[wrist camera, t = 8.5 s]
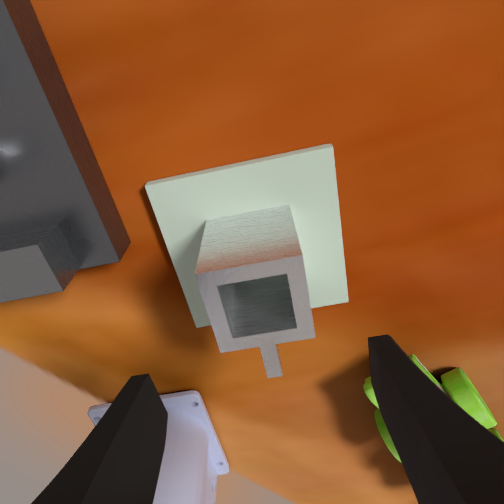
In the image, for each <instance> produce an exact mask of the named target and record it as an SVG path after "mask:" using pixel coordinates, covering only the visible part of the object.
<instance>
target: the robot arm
mask: <svg viewBox="0 0 504 504" xmlns="http://www.w3.org/2000/svg"><path fill="white" fill-rule="evenodd" d="M368 347H369V360H370V374H371V384H372V387H373V390H374V393H375V397H376V400H377V403H378V406H379V409H380V413H381V415H382V418H383V420H384V422H385V425H386V427H387V430H388V432H389V434H390V437H391V439H392V441H393V444H394V446H395V448H396V450H397V453H398V455H399V457H400V460H401V462H402V464H403V467H404V469H405V471H406V474H407V476H408V478H409V481H410V483H411V485H412V488H413V490H414V493H415V495H416V498H417V501H418V503H419V504H504V442H503V441H502V440H501V439H499V438H498V437H497V436H495V435H494V434H493V433H492V432H490V431H489V430H488V429H486V428H485V427H484V426H483V425H481V424H480V423H479V422H478V421H476V420H475V419H474V418H473V417H472V416H470V415H469V414H468V413H467V412H466V411H465V410H463V409H462V408H461V407H460V406H459V405H458V404H457V403H455V402H454V401H453V400H452V399H451V398H450V397H449V396H448V395H446V394H445V393H444V392H443V391H442V390H441V389H440V388H439V387H438V386H437V385H436V384H435V383H434V382H433V381H432V380H431V379H430V378H429V377H428V376H427V375H426V374H425V373H424V372H423V371H422V370H421V369H420V368H419V367H418V366H417V365H416V364H415V363H414V362H413V361H412V360H411V359H410V358H409V357H408V356H407V355H406V353H405V352H404V351H403V350H402V349H401V348H400V347H399V346H398V344H397V343H396V342H395V341H394V340H393V338H392V337H391V336H389V335H381V336H375V337H369V338H368ZM88 416H89V417H90V419H91V420H92V422H93V423H94V425H95V428H94V429H93V430H92V432H91V433H90V434H89V436H88V437H87V438H86V440H85V441H84V442H83V443H82V445H81V446H80V447H79V448H78V450H77V451H76V452H75V453H74V455H73V456H72V457H71V458H70V460H69V461H68V462H67V464H66V465H65V466H64V467H63V469H62V470H61V471H60V472H59V473H58V474H57V475H56V477H55V478H54V479H53V480H52V482H50V484H49V485H48V486H47V487H46V488H45V489H44V490H43V491H42V492H41V494H40V495H39V496H38V497H37V498H36V499H35V500H34V501H33V502H32V503H31V504H215V498H216V482H217V475H222V474H226V473H228V472H229V464H228V462H227V459H226V457H225V454H224V452H223V449H222V447H221V444H220V442H219V439H218V437H217V435H216V432H215V430H214V427H213V425H212V422H211V420H210V417H209V415H208V412H207V410H206V407H205V405H204V403H203V400H202V398H201V395H200V393H199V392H197V391H195V390H190V391H184V392H178V393H171V394H165V395H159V394H158V392H157V390H156V388H155V386H154V383H153V381H152V379H151V377H150V375H149V374H143V375H137V376H131V377H130V379H129V380H128V382H127V383H126V384H125V386H124V387H123V388H122V390H121V391H120V393H119V394H118V395H117V397H116V398H115V400H114V401H113V402H112V403H107V404H101V405H95V406H91V407H90V408H89V411H88Z"/></svg>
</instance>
